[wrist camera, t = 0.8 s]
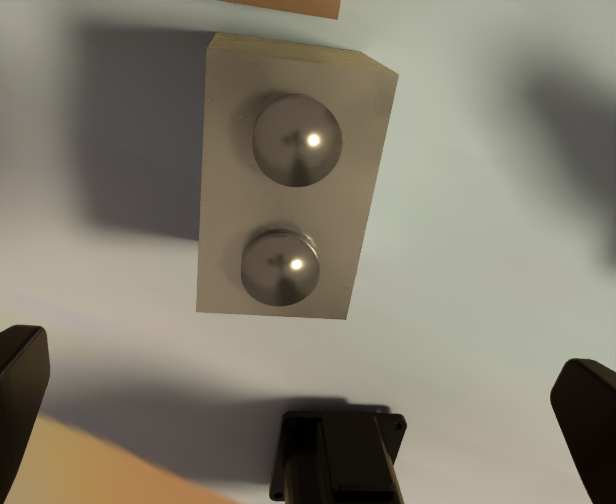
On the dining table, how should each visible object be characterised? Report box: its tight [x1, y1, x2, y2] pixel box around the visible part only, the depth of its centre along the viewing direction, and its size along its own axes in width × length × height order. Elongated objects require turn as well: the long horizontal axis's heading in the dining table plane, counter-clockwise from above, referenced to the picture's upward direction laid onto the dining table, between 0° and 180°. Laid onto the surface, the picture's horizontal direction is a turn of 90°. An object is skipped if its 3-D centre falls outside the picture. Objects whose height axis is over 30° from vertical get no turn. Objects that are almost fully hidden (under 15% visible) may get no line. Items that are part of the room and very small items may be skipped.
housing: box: [196, 32, 399, 320], centre depth 16 cm, size 8×5×6 cm, turn 172°
